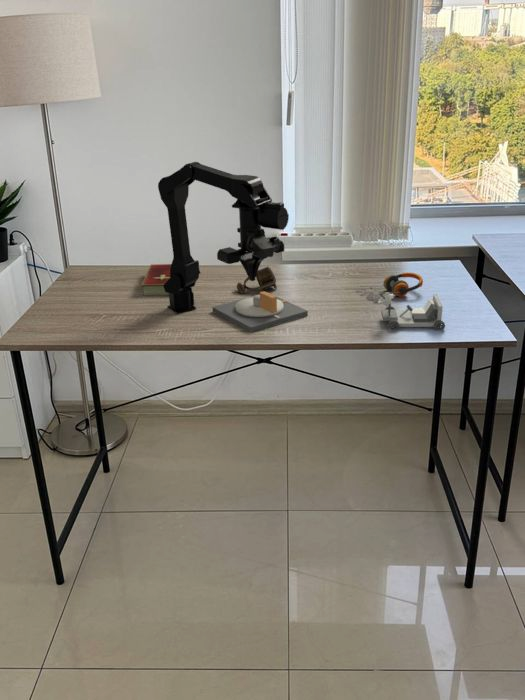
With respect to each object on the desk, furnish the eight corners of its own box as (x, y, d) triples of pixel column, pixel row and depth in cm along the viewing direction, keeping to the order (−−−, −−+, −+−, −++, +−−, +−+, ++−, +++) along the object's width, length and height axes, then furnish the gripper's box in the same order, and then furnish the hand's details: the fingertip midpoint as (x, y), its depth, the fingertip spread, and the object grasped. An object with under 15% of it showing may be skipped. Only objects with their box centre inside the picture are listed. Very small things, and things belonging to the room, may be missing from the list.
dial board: (250, 332, 202) (250, 326, 202) (212, 311, 217) (212, 306, 217) (307, 315, 213) (307, 309, 212) (267, 296, 228) (267, 291, 227)
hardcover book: (186, 274, 251) (186, 262, 249) (180, 296, 232) (179, 283, 230) (152, 275, 251) (150, 263, 249) (142, 296, 232) (141, 284, 230)
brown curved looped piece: (277, 279, 227) (279, 262, 235) (236, 275, 227) (239, 259, 235) (276, 298, 231) (277, 281, 239) (235, 295, 231) (238, 278, 239)
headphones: (350, 282, 230) (404, 261, 234) (353, 297, 233) (406, 276, 237) (375, 299, 216) (432, 276, 220) (378, 315, 219) (434, 292, 223)
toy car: (379, 297, 198) (376, 283, 208) (378, 331, 202) (375, 315, 212) (447, 297, 197) (440, 283, 207) (444, 331, 201) (438, 315, 211)
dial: (226, 306, 216) (225, 289, 214) (265, 296, 223) (264, 279, 221) (254, 321, 205) (253, 303, 203) (294, 310, 212) (294, 292, 210)
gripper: (238, 237, 185) (240, 295, 192) (296, 225, 195) (296, 280, 201) (214, 228, 193) (217, 284, 200) (271, 217, 203) (272, 271, 210)
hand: (252, 280), depth 202 cm, fingers closed
